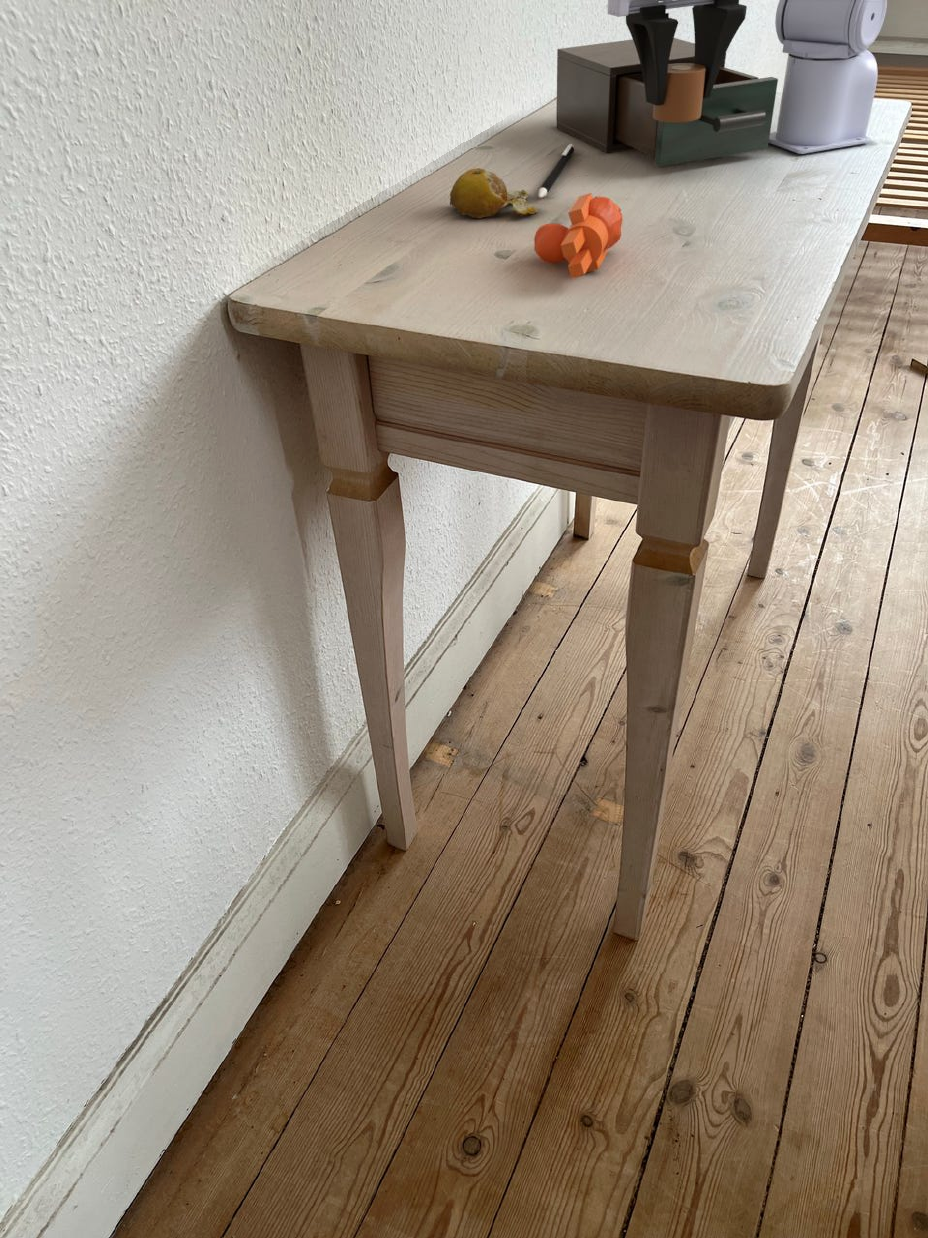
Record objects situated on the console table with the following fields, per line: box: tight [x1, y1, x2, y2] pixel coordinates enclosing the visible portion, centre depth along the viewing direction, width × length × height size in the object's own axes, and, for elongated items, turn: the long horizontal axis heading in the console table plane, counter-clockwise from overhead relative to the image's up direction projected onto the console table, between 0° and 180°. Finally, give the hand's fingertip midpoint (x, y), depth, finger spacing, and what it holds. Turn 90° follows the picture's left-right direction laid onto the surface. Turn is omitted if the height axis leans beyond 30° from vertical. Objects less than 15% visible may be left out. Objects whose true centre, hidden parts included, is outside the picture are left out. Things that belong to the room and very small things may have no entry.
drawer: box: [613, 66, 779, 168], centre depth 101 cm, size 17×13×7 cm
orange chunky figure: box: [533, 192, 624, 279], centre depth 80 cm, size 5×8×12 cm
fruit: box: [449, 167, 538, 220], centre depth 92 cm, size 8×8×4 cm
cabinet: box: [555, 37, 727, 154], centre depth 111 cm, size 14×15×9 cm
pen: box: [538, 143, 575, 199], centre depth 101 cm, size 1×19×1 cm, turn 165°
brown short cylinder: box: [653, 63, 706, 123], centre depth 86 cm, size 4×4×4 cm
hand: (678, 99), depth 87 cm, fingers closed on brown short cylinder, 4 cm apart
